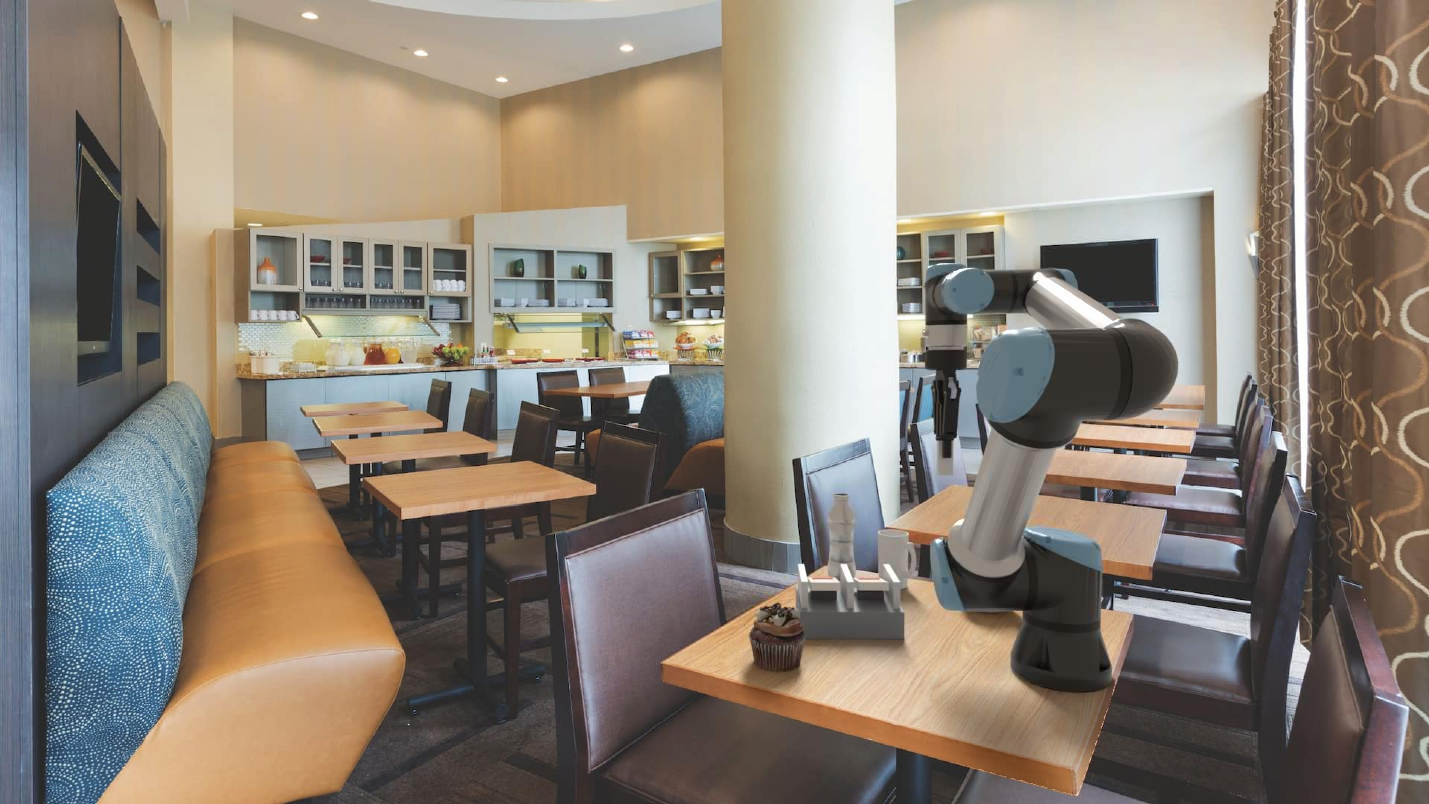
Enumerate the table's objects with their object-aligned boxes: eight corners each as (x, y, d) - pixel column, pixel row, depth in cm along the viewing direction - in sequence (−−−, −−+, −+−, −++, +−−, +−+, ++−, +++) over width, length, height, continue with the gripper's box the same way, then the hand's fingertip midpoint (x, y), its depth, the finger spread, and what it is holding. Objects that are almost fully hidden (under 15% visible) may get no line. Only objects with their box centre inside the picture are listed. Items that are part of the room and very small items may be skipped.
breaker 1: (840, 590, 145) (840, 581, 145) (811, 590, 145) (810, 581, 145) (835, 585, 155) (835, 576, 155) (807, 585, 155) (807, 576, 155)
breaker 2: (889, 590, 144) (888, 581, 144) (859, 590, 145) (859, 581, 145) (880, 585, 154) (880, 577, 154) (852, 585, 154) (852, 577, 155)
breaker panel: (904, 639, 142) (904, 585, 141) (800, 638, 143) (799, 585, 142) (889, 609, 157) (889, 561, 157) (795, 609, 159) (795, 561, 158)
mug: (871, 584, 175) (871, 532, 174) (892, 579, 178) (892, 528, 177) (904, 596, 166) (904, 541, 165) (926, 590, 170) (926, 536, 169)
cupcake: (815, 658, 133) (814, 601, 133) (789, 678, 125) (788, 618, 125) (766, 647, 139) (766, 592, 138) (738, 666, 130) (737, 608, 130)
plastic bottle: (835, 586, 174) (834, 498, 172) (822, 577, 180) (822, 492, 179) (861, 583, 175) (861, 496, 174) (847, 575, 182) (847, 491, 181)
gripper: (918, 348, 150) (917, 469, 152) (933, 348, 137) (932, 480, 139) (957, 348, 150) (956, 469, 151) (976, 348, 137) (974, 480, 138)
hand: (944, 474), depth 145 cm, fingers closed
